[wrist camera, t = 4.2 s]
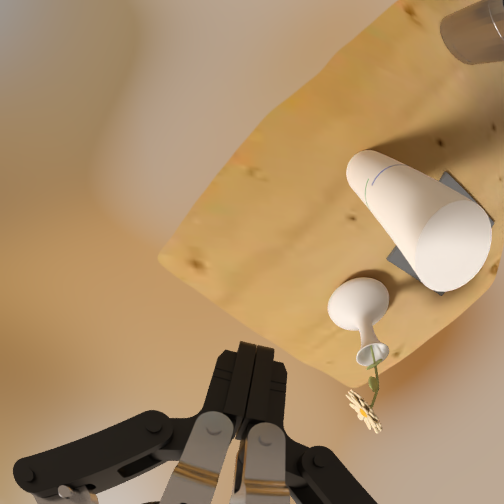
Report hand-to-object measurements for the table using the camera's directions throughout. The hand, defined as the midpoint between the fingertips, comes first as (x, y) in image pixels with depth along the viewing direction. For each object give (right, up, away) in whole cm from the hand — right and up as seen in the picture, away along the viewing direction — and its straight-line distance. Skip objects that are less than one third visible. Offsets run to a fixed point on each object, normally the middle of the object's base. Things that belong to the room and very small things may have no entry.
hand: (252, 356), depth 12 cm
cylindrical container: (+17, +16, +26) cm, 35 cm away
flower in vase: (+19, -5, +37) cm, 42 cm away
